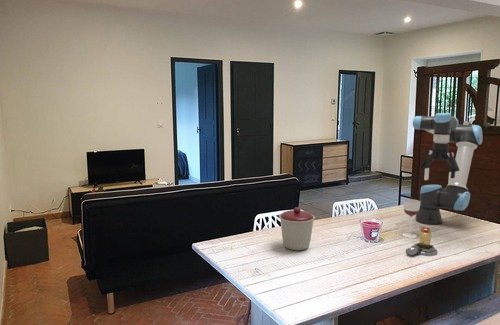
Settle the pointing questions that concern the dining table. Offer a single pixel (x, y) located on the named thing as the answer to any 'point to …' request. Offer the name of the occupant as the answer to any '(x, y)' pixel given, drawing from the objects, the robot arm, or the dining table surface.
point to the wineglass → (411, 212)
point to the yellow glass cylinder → (425, 238)
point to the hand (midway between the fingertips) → (438, 181)
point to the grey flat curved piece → (421, 250)
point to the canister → (296, 228)
